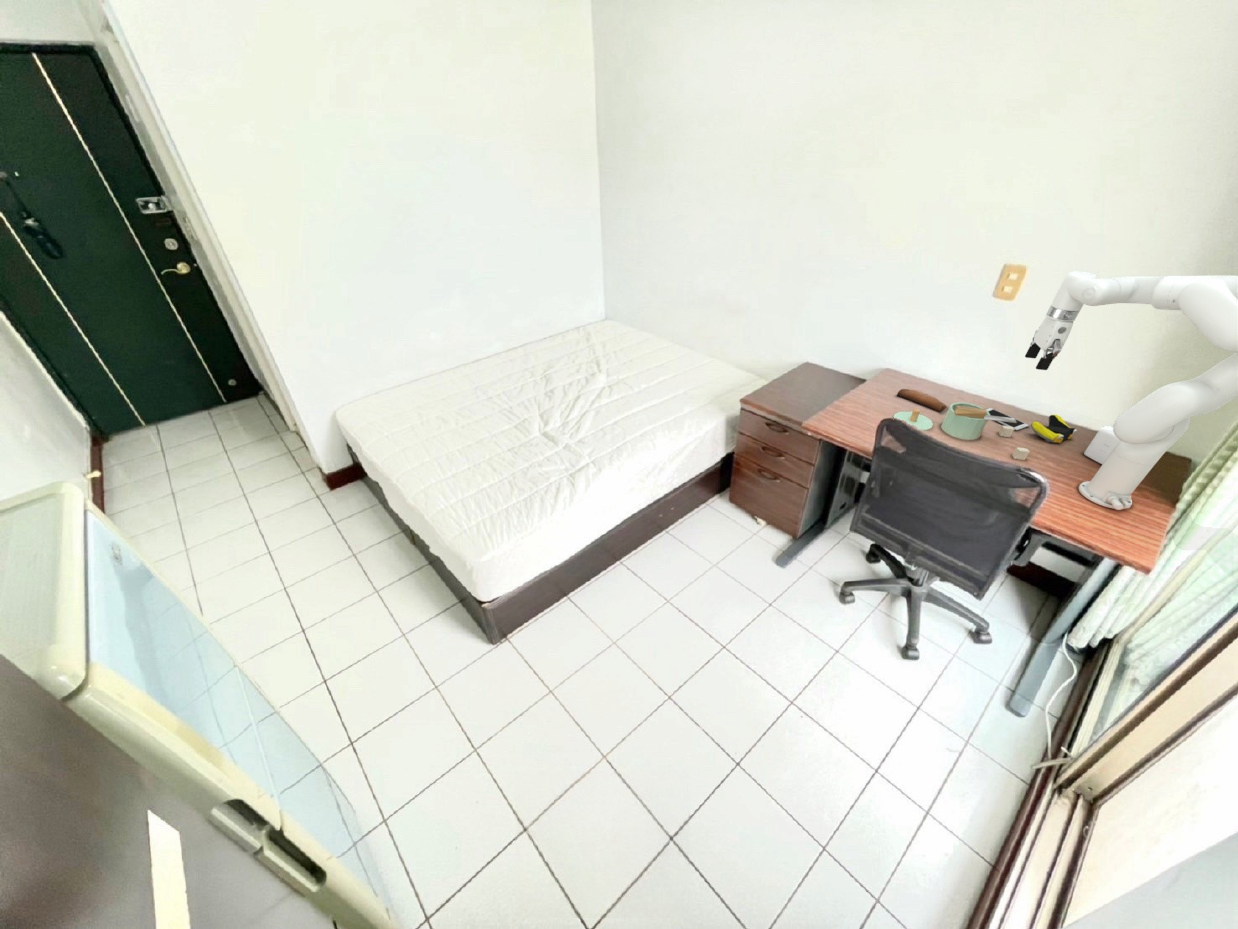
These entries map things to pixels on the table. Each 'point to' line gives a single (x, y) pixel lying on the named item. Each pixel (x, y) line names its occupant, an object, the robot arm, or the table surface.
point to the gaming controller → (1053, 430)
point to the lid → (915, 419)
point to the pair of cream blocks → (1019, 452)
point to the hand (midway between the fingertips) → (1035, 363)
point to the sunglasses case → (922, 399)
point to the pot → (963, 423)
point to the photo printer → (1102, 444)
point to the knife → (979, 414)
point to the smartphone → (1015, 425)
